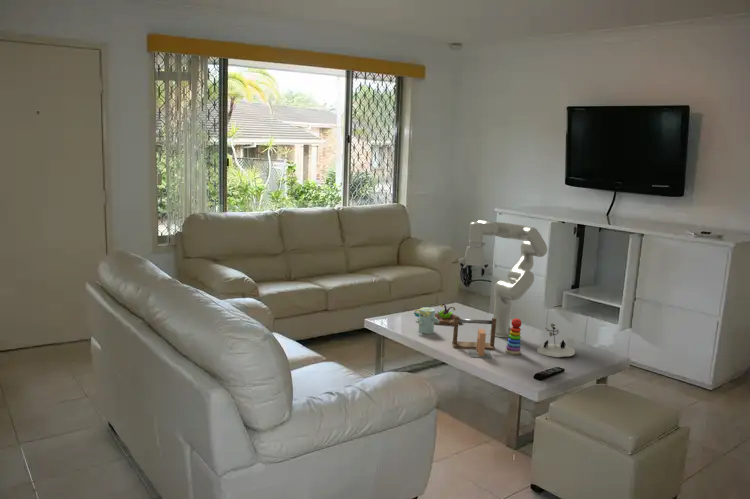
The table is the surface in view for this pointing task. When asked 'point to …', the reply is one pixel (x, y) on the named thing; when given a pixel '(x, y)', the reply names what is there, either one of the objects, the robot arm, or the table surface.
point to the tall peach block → (481, 342)
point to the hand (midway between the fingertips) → (473, 275)
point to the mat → (475, 354)
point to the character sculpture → (426, 320)
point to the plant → (445, 316)
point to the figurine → (555, 347)
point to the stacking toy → (514, 338)
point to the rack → (473, 344)
